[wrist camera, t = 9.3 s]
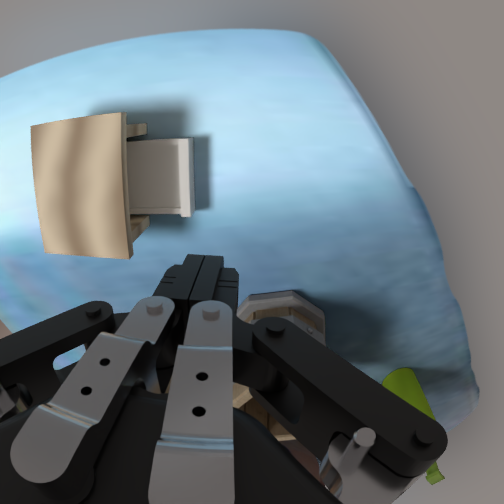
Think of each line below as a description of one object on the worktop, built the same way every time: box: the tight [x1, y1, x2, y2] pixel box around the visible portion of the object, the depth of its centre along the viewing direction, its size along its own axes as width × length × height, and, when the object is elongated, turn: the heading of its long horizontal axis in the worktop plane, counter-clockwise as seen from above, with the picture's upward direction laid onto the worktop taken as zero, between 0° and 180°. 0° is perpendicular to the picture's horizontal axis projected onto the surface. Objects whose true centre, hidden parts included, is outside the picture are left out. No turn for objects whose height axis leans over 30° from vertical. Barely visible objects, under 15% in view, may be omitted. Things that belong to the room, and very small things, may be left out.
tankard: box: [233, 290, 326, 441], centre depth 34 cm, size 20×13×15 cm, turn 54°
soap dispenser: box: [382, 368, 445, 485], centre depth 35 cm, size 6×7×20 cm
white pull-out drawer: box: [126, 137, 195, 217], centre depth 31 cm, size 15×8×2 cm, turn 89°
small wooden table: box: [31, 112, 150, 259], centre depth 29 cm, size 11×14×7 cm
